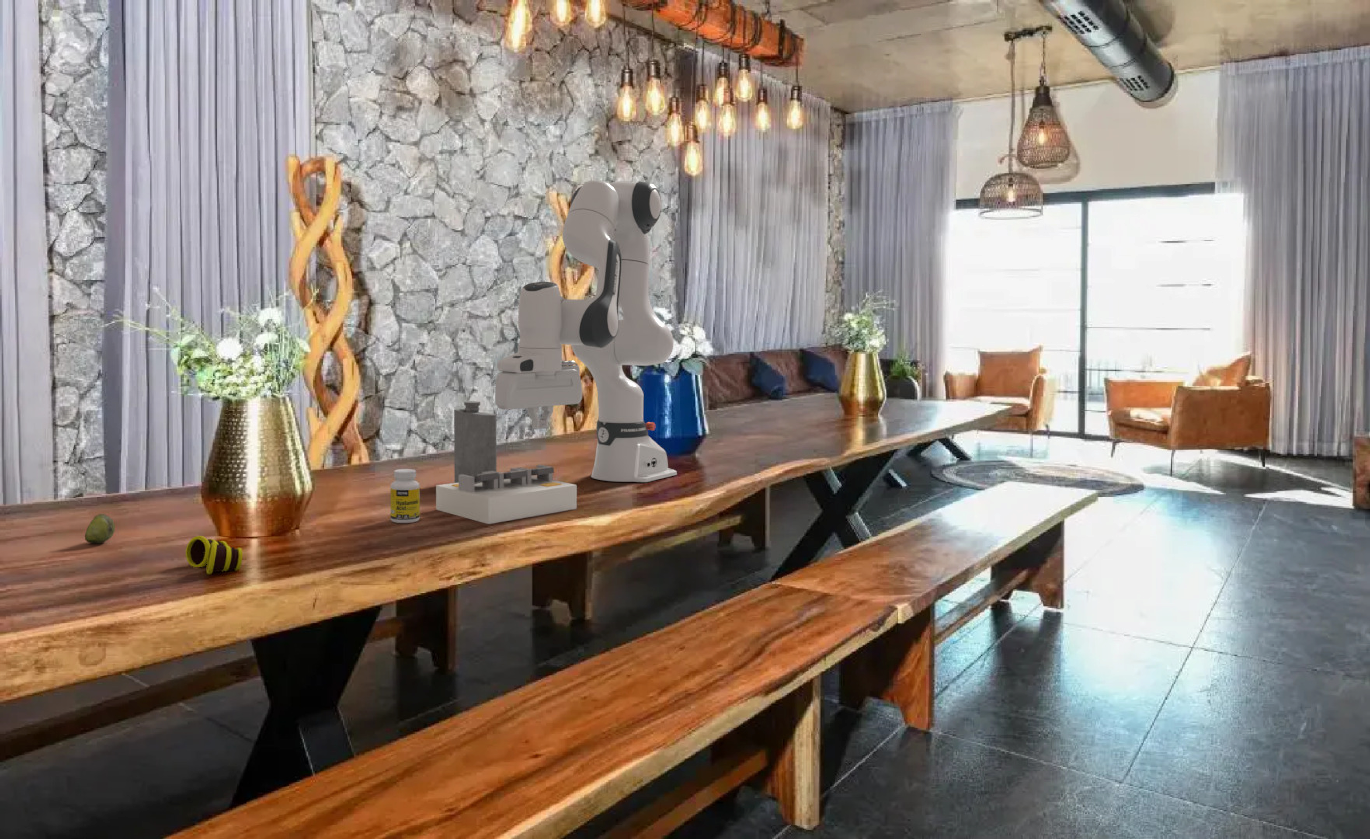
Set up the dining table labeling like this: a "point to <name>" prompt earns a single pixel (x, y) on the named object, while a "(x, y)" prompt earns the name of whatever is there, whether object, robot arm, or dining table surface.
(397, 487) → the supplement bottle
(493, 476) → the rocker
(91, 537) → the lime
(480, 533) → the dining table surface
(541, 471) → the rocker
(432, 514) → the dining table surface
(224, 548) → the brown and yellow tube
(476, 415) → the hip flask
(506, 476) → the rocker
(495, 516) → the switch console
